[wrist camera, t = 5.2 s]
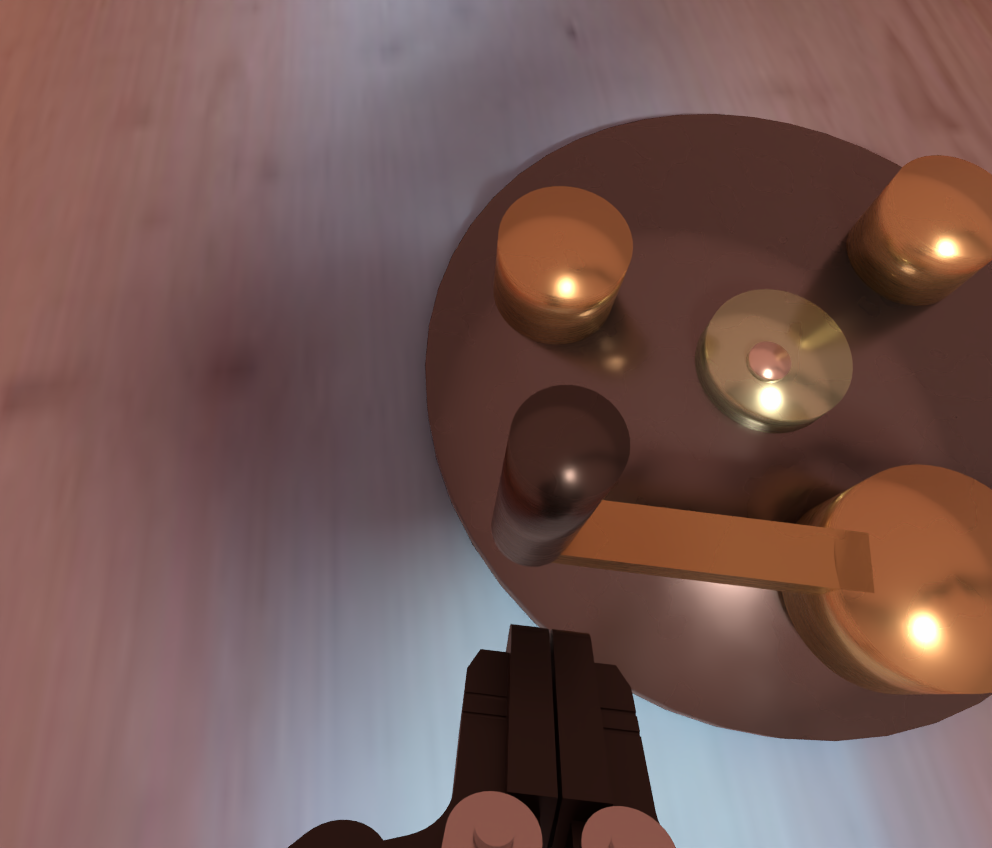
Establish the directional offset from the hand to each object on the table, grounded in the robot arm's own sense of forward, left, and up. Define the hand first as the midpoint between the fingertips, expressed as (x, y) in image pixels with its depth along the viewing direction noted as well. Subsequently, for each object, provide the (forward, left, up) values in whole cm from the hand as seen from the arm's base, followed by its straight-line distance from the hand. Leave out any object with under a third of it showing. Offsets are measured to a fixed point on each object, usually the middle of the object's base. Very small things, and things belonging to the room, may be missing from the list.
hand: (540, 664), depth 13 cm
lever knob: (-7, -2, -7) cm, 10 cm away
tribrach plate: (-11, -9, -8) cm, 16 cm away
